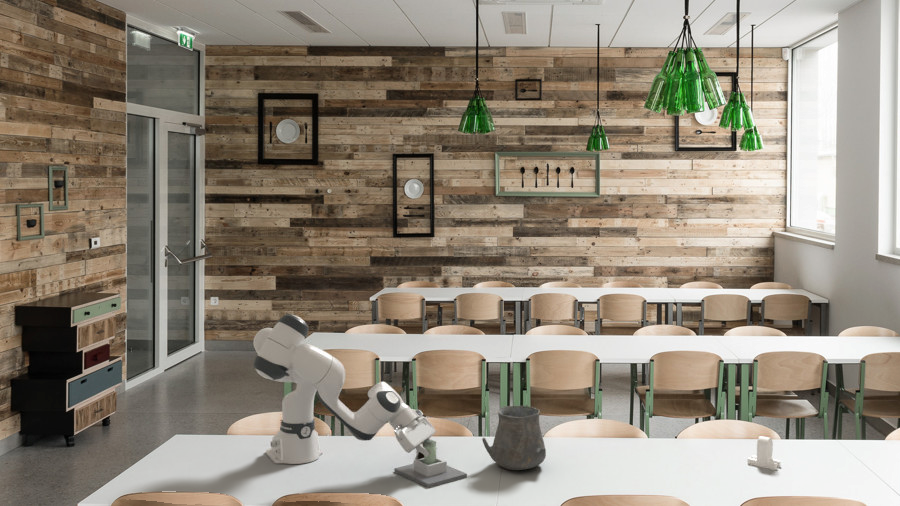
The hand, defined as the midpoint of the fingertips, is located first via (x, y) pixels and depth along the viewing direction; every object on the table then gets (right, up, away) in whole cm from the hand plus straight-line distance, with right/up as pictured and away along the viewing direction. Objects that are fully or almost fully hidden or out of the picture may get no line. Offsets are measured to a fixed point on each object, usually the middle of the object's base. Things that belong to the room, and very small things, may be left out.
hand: (431, 452), depth 277 cm
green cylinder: (0, -5, +1) cm, 5 cm away
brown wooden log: (-3, -6, +25) cm, 26 cm away
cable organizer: (+116, -6, +8) cm, 117 cm away
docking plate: (0, -8, +1) cm, 8 cm away
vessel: (+31, -7, +9) cm, 33 cm away
